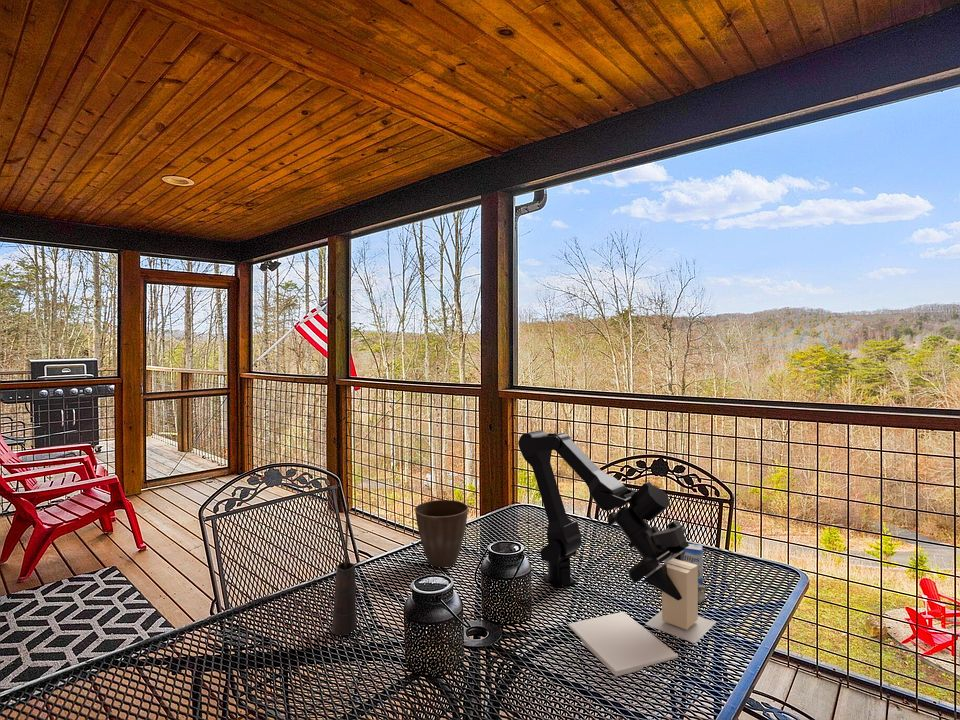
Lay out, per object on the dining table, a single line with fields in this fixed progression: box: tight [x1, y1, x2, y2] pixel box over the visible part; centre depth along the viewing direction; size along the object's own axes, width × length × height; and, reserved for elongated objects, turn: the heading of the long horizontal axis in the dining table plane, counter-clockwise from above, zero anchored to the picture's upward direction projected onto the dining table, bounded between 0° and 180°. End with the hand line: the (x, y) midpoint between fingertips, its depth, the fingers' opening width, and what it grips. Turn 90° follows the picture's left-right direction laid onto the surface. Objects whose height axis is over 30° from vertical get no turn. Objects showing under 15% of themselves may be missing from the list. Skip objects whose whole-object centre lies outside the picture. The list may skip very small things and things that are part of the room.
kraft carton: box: [661, 558, 699, 630], centre depth 116 cm, size 6×6×12 cm
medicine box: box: [680, 543, 704, 585], centre depth 139 cm, size 8×4×9 cm, turn 68°
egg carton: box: [698, 583, 707, 603], centre depth 130 cm, size 10×7×4 cm
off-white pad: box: [567, 611, 679, 678], centre depth 110 cm, size 18×14×1 cm
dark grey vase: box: [331, 501, 357, 635], centre depth 115 cm, size 9×10×28 cm
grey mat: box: [644, 610, 717, 644], centre depth 116 cm, size 11×11×1 cm
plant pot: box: [414, 499, 469, 568], centre depth 151 cm, size 15×15×16 cm
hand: (686, 594), depth 115 cm, fingers closed on kraft carton, 5 cm apart
